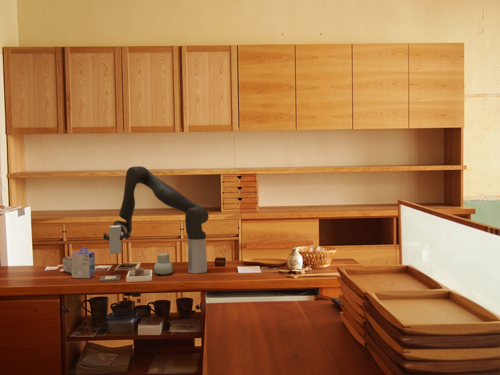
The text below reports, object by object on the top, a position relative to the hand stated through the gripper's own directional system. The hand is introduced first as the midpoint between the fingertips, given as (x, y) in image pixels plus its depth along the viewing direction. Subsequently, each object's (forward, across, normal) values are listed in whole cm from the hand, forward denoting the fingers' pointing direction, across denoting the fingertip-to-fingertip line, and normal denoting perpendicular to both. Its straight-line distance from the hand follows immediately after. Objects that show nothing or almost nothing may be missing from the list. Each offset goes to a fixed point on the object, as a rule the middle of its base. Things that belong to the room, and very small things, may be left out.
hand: (114, 238), depth 220 cm
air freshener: (-6, +23, +20) cm, 31 cm away
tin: (-18, -24, +20) cm, 36 cm away
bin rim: (0, +11, +20) cm, 23 cm away
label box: (-3, 0, +8) cm, 8 cm away
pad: (-2, -3, +20) cm, 20 cm away
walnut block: (+3, +11, +20) cm, 23 cm away
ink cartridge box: (-8, -16, +20) cm, 27 cm away
